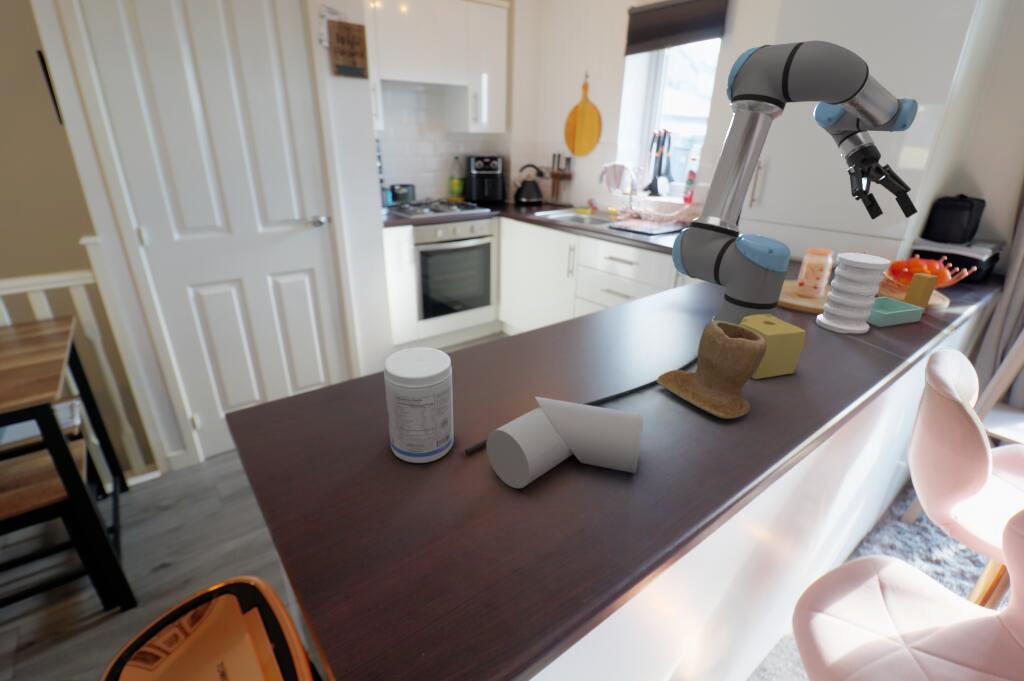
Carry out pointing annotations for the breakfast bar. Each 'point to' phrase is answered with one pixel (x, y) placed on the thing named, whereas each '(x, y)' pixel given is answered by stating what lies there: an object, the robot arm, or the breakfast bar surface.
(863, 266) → the decorative container
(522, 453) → the l-shaped cylinder
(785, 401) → the breakfast bar surface
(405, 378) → the supplement tub
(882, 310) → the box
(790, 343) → the cheese
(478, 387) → the breakfast bar surface
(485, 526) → the breakfast bar surface
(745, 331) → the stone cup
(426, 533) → the breakfast bar surface
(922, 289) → the mustard block
